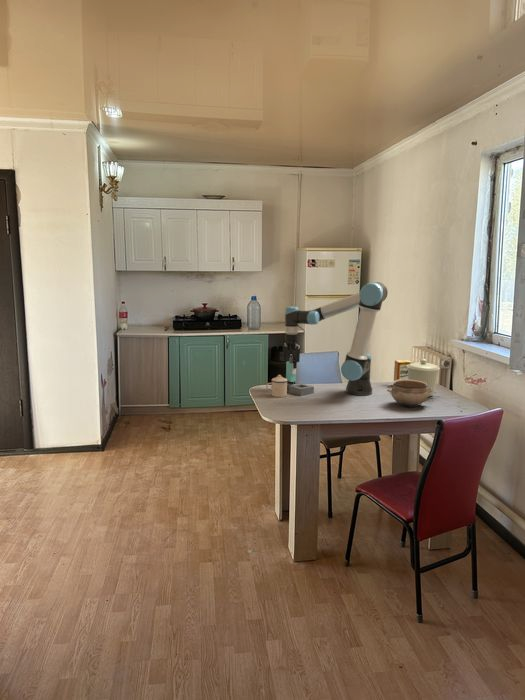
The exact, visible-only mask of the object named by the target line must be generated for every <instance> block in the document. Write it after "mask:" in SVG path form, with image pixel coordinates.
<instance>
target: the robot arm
mask: <svg viewBox="0 0 525 700" xmlns="http://www.w3.org/2000/svg"><path fill="white" fill-rule="evenodd" d="M386 286H387V285H385V284H384V283H382V282H379V281H378V282H377V281H376V282H368V283H366V284H364V285H363V286H362V287H361V289H360V290H359V292H357V293H353V294H351V295H349V296H347V297H343V298H341V299H339V300H336V301H333V302H331V303H327V304H325V305H322V306H319V307H317V308H313V309H310V310H300V309H299V307H298V306H286V307H285V311H284V312H285V313H284V316H285V317H284V332H285V334H284V340H285V342H284V343H281V344H282V345H281V346H282V360H284V362H285V363H286V362H289V358H292V360H293V362H292V374H296V373H297V364H298V363H300V357H301V356H300V354H301V348H302V346H301V345H299V344H298V340H299V324H300V325H301V324H302V325H312V326H313V325H318V324H319V322H321V321H324V320H326V319H329V318H332V317H335V316H337V315H340V314H343V313H346V312H348V311H351V310H354V309H357V308H359V309H360V311H359V315H358V318H357V323H356V326H355V329H354V330H355V331H354V334H353V339H352V341H351V342H352V343H351V346H350V351H348V352H346V354H345V359H344V362H343V363H342V364H341V367H340V372H341V375H342V376H343V377H344V379H346V380H348V382H347V384H346V387H345V392H346V393H347V394H348V395H353V396H370V395H372V394H373V387H372V384H371V383H372V382H371V368H372V367H371V366H372V356H371V354H369V353H367V350H368V347H369V342H370V339H371V335H372V331H373V327H374V323H375V321H376V315H377V313H378V312H380V311H381V308H382V304H383V302H384V301H385V300H386V299H387V298H388V292H389V291H388V288H387V287H386ZM296 375H297V374H296Z"/></svg>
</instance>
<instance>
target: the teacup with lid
mask: <svg viewBox="0 0 525 700" xmlns="http://www.w3.org/2000/svg"><path fill="white" fill-rule="evenodd" d="M270 381H271V382H268V383H266V385H265V388H266V390H267V391H268V392H270V393H271V396H272V397H276V398H284V397H286V396H287V395H288V391H287V384H288V381H287V379H286V377H283V376H282V375H281V374H278V375H277V376H276V377H273V378H272V379H271V380H270ZM269 385H271V389H269V387H268V386H269Z"/></svg>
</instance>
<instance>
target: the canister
mask: <svg viewBox="0 0 525 700" xmlns="http://www.w3.org/2000/svg"><path fill="white" fill-rule="evenodd" d="M407 368H408V379H410V380H418V381H423V382H425V383H427V384H428V385H427V389H430V388H431V389H432V391H431V392H430V393H428V398H429V397H432V396H433V395H434V393H435V391H436V385H437V381H438V375H439V370H440V369H441V368H440V367H439V366H438V365H436V364H434V363H429V362H428V360H427V359H425V358H421V359H420V361H418V362H414V363H410V364H409V365H407ZM429 391H430V390H429Z"/></svg>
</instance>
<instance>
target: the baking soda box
mask: <svg viewBox="0 0 525 700" xmlns="http://www.w3.org/2000/svg"><path fill="white" fill-rule="evenodd" d="M410 363H415V362H414V361H412V360H410V359H409V360H408V359H407V360H406V359H405V360H404V359H403V360H398V359H397V360H394V368H393V369H394V371H393V381H395V380H400V379H408V368H407V365H409V364H410ZM393 385H394V383H393ZM393 385H392V386H393Z"/></svg>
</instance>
